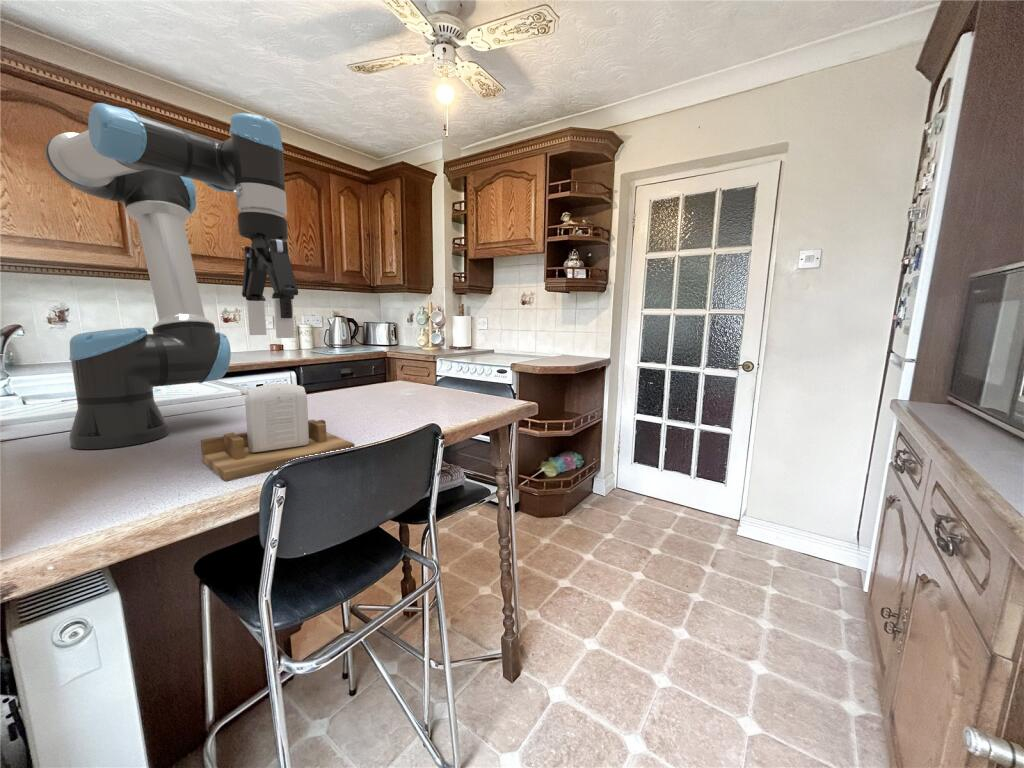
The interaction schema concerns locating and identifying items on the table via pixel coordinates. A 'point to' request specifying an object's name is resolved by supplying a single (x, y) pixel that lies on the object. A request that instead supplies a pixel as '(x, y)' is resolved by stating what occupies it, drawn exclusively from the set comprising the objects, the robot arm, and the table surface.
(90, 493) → the table surface
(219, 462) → the ledge shelf
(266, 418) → the photo printer
